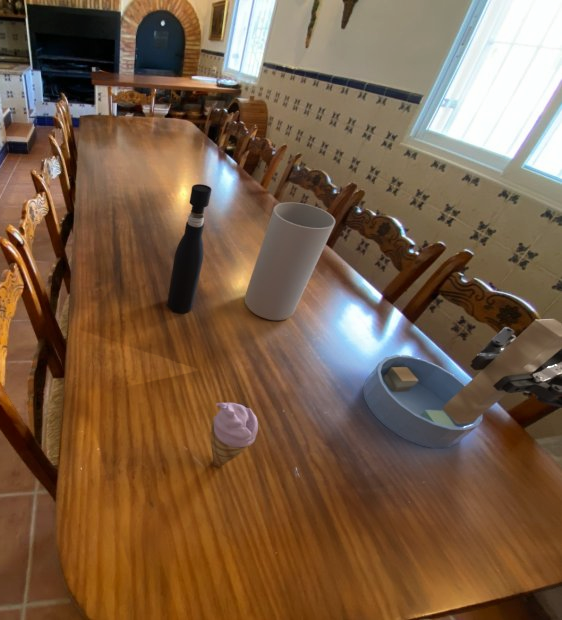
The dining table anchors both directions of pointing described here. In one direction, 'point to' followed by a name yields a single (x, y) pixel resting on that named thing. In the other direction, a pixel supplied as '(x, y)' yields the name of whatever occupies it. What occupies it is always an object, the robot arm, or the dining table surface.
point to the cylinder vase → (287, 259)
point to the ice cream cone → (232, 432)
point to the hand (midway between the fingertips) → (488, 373)
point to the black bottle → (189, 254)
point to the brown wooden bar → (506, 369)
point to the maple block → (400, 379)
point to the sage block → (438, 417)
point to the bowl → (416, 402)
